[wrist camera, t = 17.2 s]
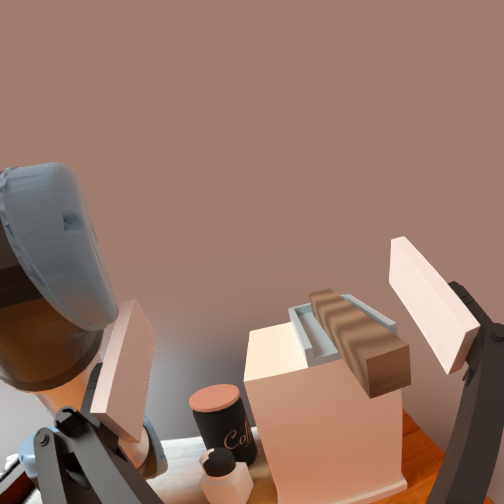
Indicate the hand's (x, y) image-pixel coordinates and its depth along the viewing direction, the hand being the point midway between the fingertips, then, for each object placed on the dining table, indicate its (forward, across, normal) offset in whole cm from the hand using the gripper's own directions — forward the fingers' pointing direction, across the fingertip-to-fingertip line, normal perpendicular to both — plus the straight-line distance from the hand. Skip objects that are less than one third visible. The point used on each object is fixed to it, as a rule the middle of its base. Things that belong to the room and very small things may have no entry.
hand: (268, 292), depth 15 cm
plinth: (+5, +4, -53) cm, 54 cm away
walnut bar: (+14, +8, -23) cm, 28 cm away
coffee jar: (+14, -16, -59) cm, 62 cm away
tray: (+20, +8, -27) cm, 35 cm away
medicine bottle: (+3, -16, -52) cm, 55 cm away
